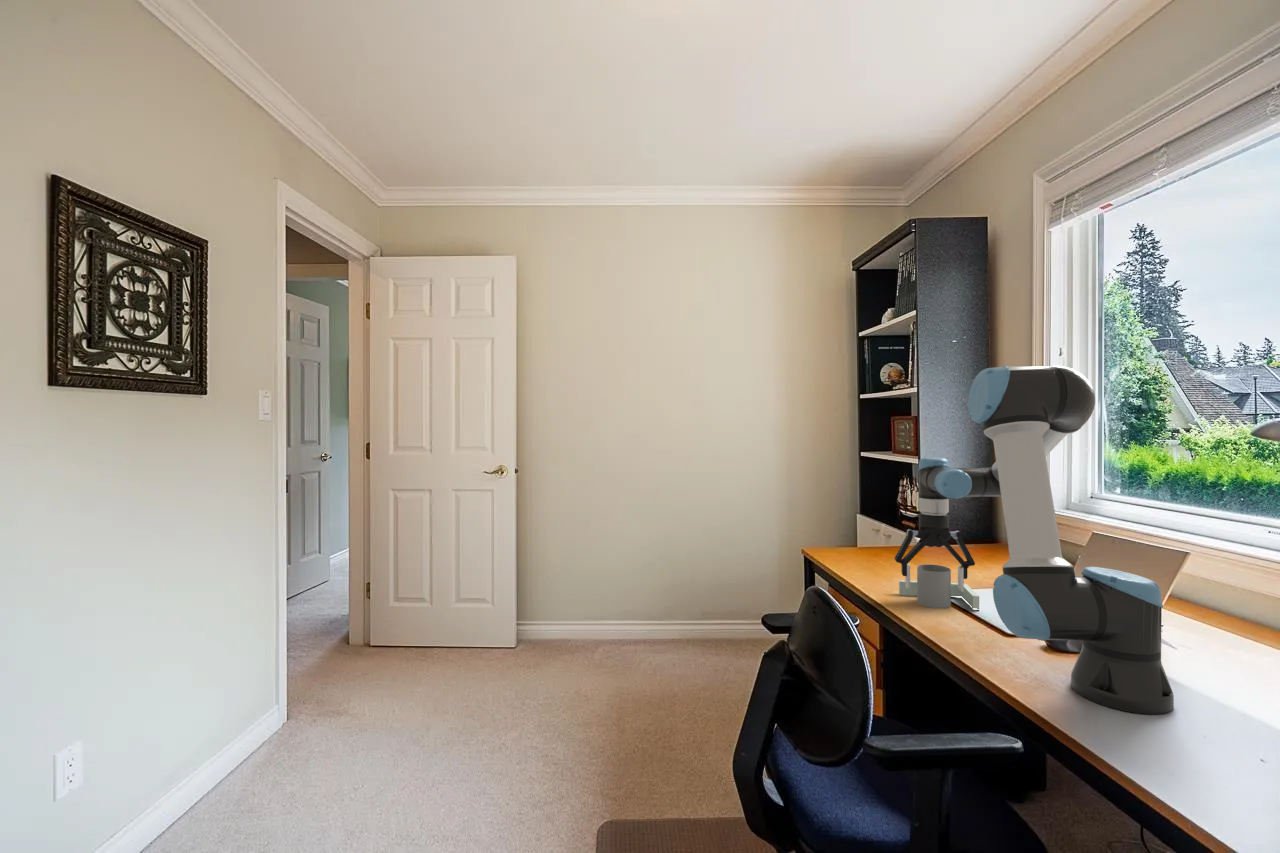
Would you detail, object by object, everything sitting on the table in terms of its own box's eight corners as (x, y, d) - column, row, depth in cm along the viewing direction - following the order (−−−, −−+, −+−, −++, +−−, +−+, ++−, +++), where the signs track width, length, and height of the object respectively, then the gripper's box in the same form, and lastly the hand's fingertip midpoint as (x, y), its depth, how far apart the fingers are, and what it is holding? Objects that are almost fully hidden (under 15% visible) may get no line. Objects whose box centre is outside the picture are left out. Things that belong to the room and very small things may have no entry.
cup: (916, 605, 168) (916, 569, 168) (918, 597, 175) (918, 563, 175) (950, 610, 164) (950, 573, 164) (950, 601, 171) (950, 566, 171)
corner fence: (979, 611, 163) (979, 596, 162) (907, 606, 167) (907, 592, 167) (965, 597, 175) (965, 583, 174) (899, 593, 179) (898, 580, 179)
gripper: (978, 512, 170) (979, 587, 170) (883, 510, 175) (884, 583, 176) (987, 516, 162) (987, 595, 163) (888, 514, 168) (888, 590, 168)
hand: (934, 589), depth 169 cm, fingers open, 13 cm apart
